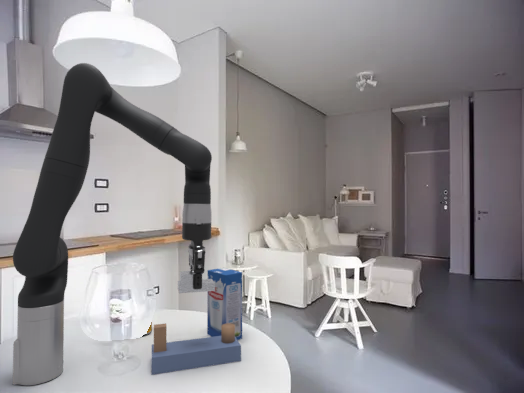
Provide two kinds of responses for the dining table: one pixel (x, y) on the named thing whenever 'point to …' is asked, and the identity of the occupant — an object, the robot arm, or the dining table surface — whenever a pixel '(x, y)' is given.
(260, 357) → the dining table surface
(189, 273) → the lever cap
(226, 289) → the milk carton
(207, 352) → the hand plane
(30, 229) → the robot arm
